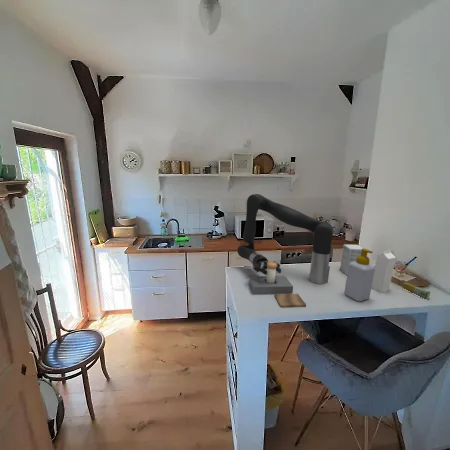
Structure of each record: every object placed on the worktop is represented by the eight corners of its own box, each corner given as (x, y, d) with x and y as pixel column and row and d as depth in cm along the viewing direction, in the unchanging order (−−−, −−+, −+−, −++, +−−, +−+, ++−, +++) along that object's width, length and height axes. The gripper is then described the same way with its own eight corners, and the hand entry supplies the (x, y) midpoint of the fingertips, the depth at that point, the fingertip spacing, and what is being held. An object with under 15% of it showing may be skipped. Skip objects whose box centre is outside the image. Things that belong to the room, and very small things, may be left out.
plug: (273, 285, 133) (275, 261, 130) (275, 290, 129) (278, 265, 125) (264, 286, 133) (266, 261, 130) (266, 290, 128) (268, 265, 125)
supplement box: (361, 276, 149) (366, 249, 145) (346, 275, 149) (350, 249, 145) (353, 269, 159) (358, 244, 155) (339, 269, 159) (343, 243, 155)
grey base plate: (284, 282, 138) (285, 275, 137) (292, 293, 126) (293, 286, 125) (249, 283, 136) (249, 276, 135) (253, 294, 124) (254, 287, 123)
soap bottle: (359, 302, 120) (367, 253, 114) (342, 294, 127) (350, 247, 121) (370, 298, 124) (379, 251, 118) (354, 290, 131) (362, 245, 125)
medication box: (429, 299, 126) (431, 292, 125) (425, 300, 124) (427, 292, 124) (404, 288, 136) (406, 281, 135) (401, 289, 135) (403, 282, 134)
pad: (297, 295, 124) (297, 293, 124) (305, 306, 115) (306, 304, 114) (274, 296, 123) (274, 294, 123) (280, 307, 113) (280, 305, 113)
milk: (388, 290, 133) (397, 251, 127) (381, 292, 130) (389, 253, 125) (378, 285, 138) (386, 248, 133) (370, 287, 136) (378, 249, 130)
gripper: (247, 255, 138) (261, 266, 123) (269, 253, 143) (286, 263, 128) (246, 268, 140) (260, 280, 125) (268, 265, 145) (284, 277, 130)
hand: (273, 272), depth 127 cm, fingers open, 7 cm apart
